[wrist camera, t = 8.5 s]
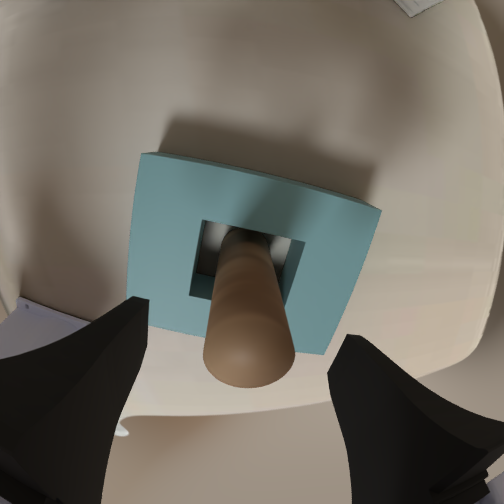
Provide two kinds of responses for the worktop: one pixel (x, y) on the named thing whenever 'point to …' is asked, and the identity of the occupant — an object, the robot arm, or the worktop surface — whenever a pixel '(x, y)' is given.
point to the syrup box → (416, 5)
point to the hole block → (249, 217)
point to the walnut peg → (247, 316)
